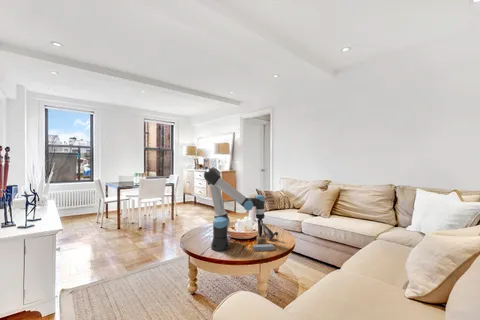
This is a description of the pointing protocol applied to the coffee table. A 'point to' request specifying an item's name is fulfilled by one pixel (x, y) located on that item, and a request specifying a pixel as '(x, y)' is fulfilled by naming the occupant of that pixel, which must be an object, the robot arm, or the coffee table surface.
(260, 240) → the walnut block
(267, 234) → the decorative duck model
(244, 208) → the robot arm
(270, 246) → the board
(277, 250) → the coffee table surface
